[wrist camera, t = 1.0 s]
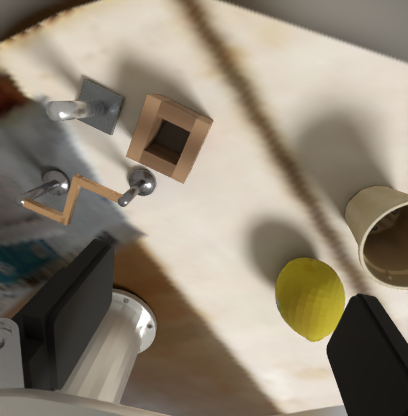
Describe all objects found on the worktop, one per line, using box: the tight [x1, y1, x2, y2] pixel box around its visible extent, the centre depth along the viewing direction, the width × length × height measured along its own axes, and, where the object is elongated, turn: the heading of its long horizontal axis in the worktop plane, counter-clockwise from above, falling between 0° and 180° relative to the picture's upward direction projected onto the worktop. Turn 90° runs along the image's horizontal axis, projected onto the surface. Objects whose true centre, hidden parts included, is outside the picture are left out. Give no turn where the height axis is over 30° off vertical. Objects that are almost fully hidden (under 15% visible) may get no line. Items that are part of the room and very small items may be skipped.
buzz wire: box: [14, 169, 156, 225], centre depth 31 cm, size 5×14×7 cm, turn 101°
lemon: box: [275, 257, 345, 342], centre depth 33 cm, size 11×8×8 cm
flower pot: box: [345, 186, 408, 290], centre depth 29 cm, size 9×9×9 cm
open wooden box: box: [126, 94, 213, 184], centre depth 29 cm, size 6×6×5 cm
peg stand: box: [46, 79, 124, 135], centre depth 27 cm, size 4×4×9 cm
